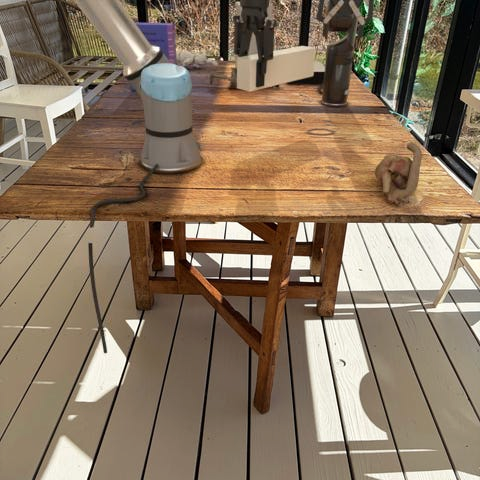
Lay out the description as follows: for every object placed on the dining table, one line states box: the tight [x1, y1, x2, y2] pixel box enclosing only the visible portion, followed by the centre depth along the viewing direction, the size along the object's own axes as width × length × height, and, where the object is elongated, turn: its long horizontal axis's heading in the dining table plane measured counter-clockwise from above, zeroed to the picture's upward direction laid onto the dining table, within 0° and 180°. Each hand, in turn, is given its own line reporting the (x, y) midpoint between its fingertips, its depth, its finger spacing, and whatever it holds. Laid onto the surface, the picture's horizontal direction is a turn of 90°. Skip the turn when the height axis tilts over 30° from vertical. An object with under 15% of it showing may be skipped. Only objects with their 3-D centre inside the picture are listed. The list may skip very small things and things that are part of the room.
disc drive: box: [286, 61, 325, 85], centre depth 207 cm, size 18×22×5 cm
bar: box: [236, 45, 317, 92], centre depth 137 cm, size 28×5×8 cm, turn 134°
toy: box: [176, 50, 219, 69], centre depth 223 cm, size 24×25×7 cm
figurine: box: [209, 66, 285, 89], centre depth 190 cm, size 24×8×30 cm
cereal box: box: [130, 21, 178, 91], centre depth 181 cm, size 17×5×24 cm, turn 86°
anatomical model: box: [374, 141, 423, 205], centre depth 107 cm, size 13×9×15 cm
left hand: (252, 84), depth 133 cm, fingers closed on bar, 5 cm apart
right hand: (341, 39), depth 128 cm, fingers open, 8 cm apart
